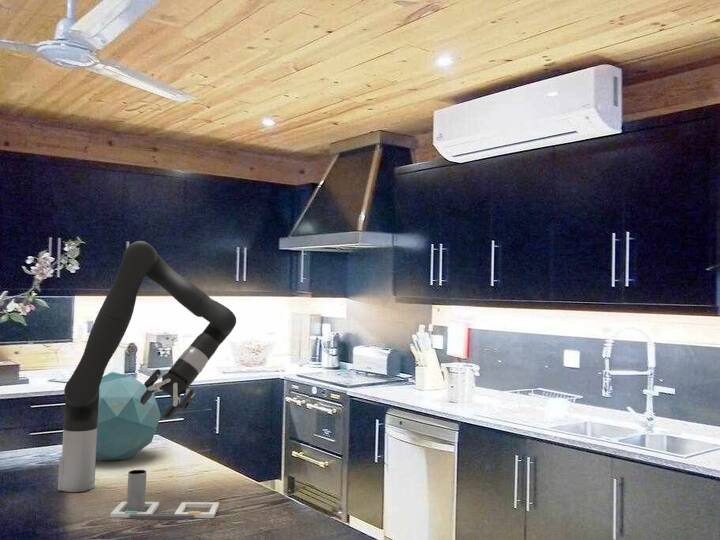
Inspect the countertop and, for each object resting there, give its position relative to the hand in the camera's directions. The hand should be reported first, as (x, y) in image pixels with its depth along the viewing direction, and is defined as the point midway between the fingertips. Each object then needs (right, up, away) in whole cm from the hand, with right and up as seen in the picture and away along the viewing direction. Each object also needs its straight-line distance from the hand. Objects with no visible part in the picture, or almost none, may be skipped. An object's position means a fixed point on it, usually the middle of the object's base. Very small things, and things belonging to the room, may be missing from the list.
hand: (153, 410), depth 191 cm
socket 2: (+16, -24, -13) cm, 31 cm away
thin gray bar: (+8, -24, -19) cm, 31 cm away
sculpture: (-26, -25, +41) cm, 55 cm away
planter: (0, -24, -14) cm, 28 cm away
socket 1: (0, -24, -14) cm, 27 cm away
